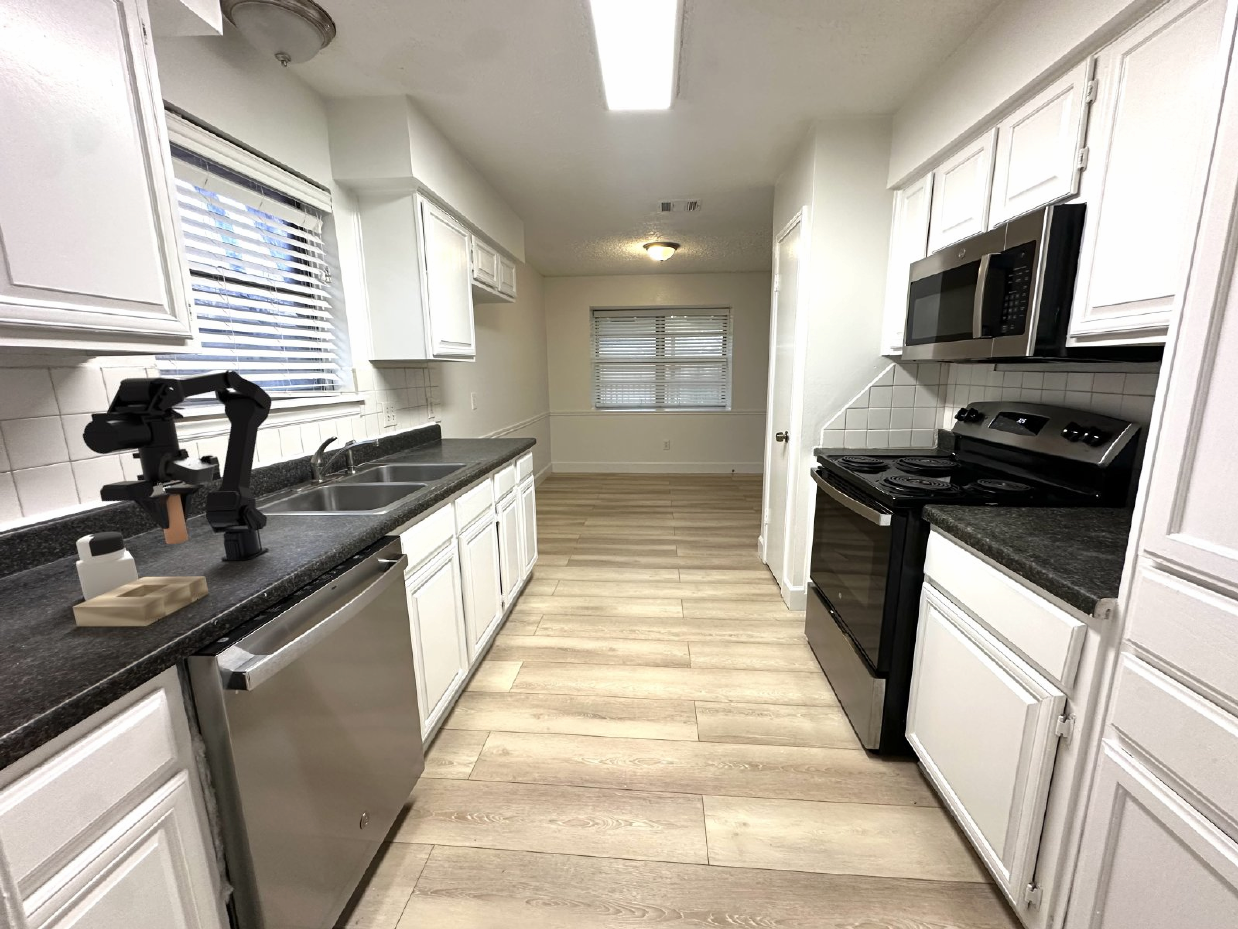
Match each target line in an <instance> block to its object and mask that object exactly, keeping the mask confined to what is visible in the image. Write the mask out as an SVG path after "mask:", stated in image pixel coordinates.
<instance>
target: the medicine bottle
mask: <svg viewBox="0 0 1238 929" xmlns="http://www.w3.org/2000/svg"><path fill="white" fill-rule="evenodd" d="M75 544H76V548H77V552H78V556H79V560H77V561H76V562H75V566H76V569H77V575H78V579H79V582H80V587H81V591H82V594H83V597H84V600H85V601H88V600H90V599H93V598H95V597H97V596H100V595H102V594H105V593H107V592H109V591H112V590H114V589H117V588H119V587H121V586H124V585H126V584H129V583H131V582H133V581H136V580H138V579H139V576H138V572H137V571H138V570H137V567H136V563H135V558H134V557H133V556H132V555H131V553H130V551H129V550H127V549H126V544H125V540H124V536H123V534H122V533H121V532H120V531H119V532H118V531H101V532H97V533H96V532H95V533H92V534H87V535H85V536H83V537H80V538H79V539H78V540H77V541H76V542H75Z"/></svg>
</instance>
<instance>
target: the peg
mask: <svg viewBox="0 0 1238 929" xmlns="http://www.w3.org/2000/svg"><path fill="white" fill-rule="evenodd" d="M166 504H167V510H168V517H169V528H168V529H163V533H164V538H165V543H166V544H167V545H175V544H181V543H184V542H188V541H189V535H188V530H187V525H186V523H185V519H184V514H183V509H182V504H181V498H180V494H171V495H170V497H169V498H168V500H167V502H166Z"/></svg>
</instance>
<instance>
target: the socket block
mask: <svg viewBox="0 0 1238 929" xmlns="http://www.w3.org/2000/svg"><path fill="white" fill-rule="evenodd" d="M207 595H209V589H208V584H207V579H206V576H204V575H203V576H198V575H197V576H144V577H141V578H138V580H136V581H133V582H131V583H129V584H126V585H124V586H121V587H119V588H117V589H114V590H112V591H109V592H107V593H105V594H102V595H100V596H97V597H95V598H93V599H90V600H88V601H86V600H85V601H83V602H81V603H79V604H76V605H74V606H72V610H73V614H74V618H75V623H76V626H77V627H147V626H149V625H151V624H153V623H156V622H157V621H159V620H160V619H163V618H165V617H167V616H169V615H171V614H172V613H175V612H176V611H178V610H180V609H182V608H184V607H186V606H188V605H190V604H191V603H194V602H196V601H198V600H200V599H202V598H203V597H206V596H207ZM197 599H198V600H197ZM158 619H159V620H158Z"/></svg>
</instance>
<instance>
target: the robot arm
mask: <svg viewBox="0 0 1238 929" xmlns="http://www.w3.org/2000/svg"><path fill="white" fill-rule="evenodd" d="M119 384H120V385H119V386H118V389H117V391H116V392H115V396H114V397H113V399H112V401H111V404H110V405H109V407H108V409H107V411H106V412H97V413H91V414H90V416H91V421H89V422H88V423H87V424H86V425H85V427H84V430H83V433H82V440H83V442H84V443H85V446H86V447H87V448H88V449H89V450H90V451H93V453H96V454H101V455H107V454H113V453H120V452H125V451H126V452H127V451H134V450H138V451H137V452H132V453H131V455H132V459H134V460H137V459H139V461H140V467H141V471H142V473H141V474H136V477H137V480H121V481H117V482H113V483H108V484H107V483H106V484H103V485H102V487H101V488H100V490H99V493H100V494H99V495H100V500H101V501H102V502H131V501H133V502H134V503H135V504H136V505H138V507H140V508H141V509H142V510H144V511H145V513H147V514H148V515H149V516H150V517H151V518H152V520H153V521H154V522H155V523H156V525H158V526H159V527H160V528H161V530H162V529H163V530H164V529H168V528H169V517H168V510H167V504H166V502H167V500H168V498H169V497H170V495H171V494H180V498H181V504H182V509H183V514H184V519H185V524H186V523H187V520H188V517H189V512H190V508H191V504H192V501H193V498H194V495H195V494H196V493H198V491H199V490H201V489H202V488H204V487H205V484H203V483H206V482H207V483H209V482H213V481H217V480H221V484H220V486H219V488H218V489H217V490H216V491H209V492H208V494H207V495H206V504H205V507H204V508H203V511H205V519H206V521H207V522H208V524H209V526H210V527H211V529H212V531H213V533H214V534H219V533H223V534H222V535H223V546H224V550H225V556H222V557H220V560H221V561H247V560H251V559H254V558H255V557H257V556H259V555H261V554H264V553H265V552H268V551H269V550H270V548H269V547H262V541H261V540H262V539H261V535H260V530H263V529H264V528H266V526H267V520H268V517H267V516H266V515H265V514H264V513H262V511H260V510H258V508H256V506H257V505H256V498H255V495H253V493H252V491H251V488H250V483H251V477H252V470H253V463H254V456H255V451H256V444H257V443H256V442H257V438H258V436H257V435H258V430H259V428H260V427H261V425H263V423H264V422H265V421H266V420H267V419H268V418H269V415H270V410H271V407H272V403H273V402H272V398H271V396H270V395H269V394H268V393H267V392H266V391H265V390H264V389H263V388H262V387H261V386H260V385H258V384H257V383H254V382H252V381H250V380H249V379H246V378H244V377H242V376H241V375H240V374H238V372H236V371H234V370H231V369H219V370H218V369H217V370H210V371H208V372H203V373H196V374H190V375H183V376H178V377H177V376H176V377H165V376H163V377H162V376H161V377H160V376H158V377H155V376H154V377H132V378H131V377H129V378H128V377H127V378H124V379H122V380H121V381H120V382H119ZM229 389H231V390H229ZM211 392H212V393H213V392H214V393H215V398H216V401H218V402H219V403H221V404H222V405H223V406H224V414H225V415H226V417H227V419H228V421H229V423H230V430H229V437H228V443H227V449H226V455H225V460H224V467H223V473H222V477H221V468H220V461H219V458H218V456H217V455H213V454H206V455H202V456H201V458H199V457H196V458H193V457H190V455H189V451H188V450H187V449H186V448H180V444H179V438H178V437H179V436H178V433H177V428H176V423H175V420H181V419H184V418H185V416H184V415H183V414H182V413H180V412H179V411H176V410H175V409H174V407H175V406H177V405H179V404H182V403H183V402H184V400H185V399H187V398H189V397H193V396H198V395H202V394H207V393H211Z"/></svg>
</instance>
